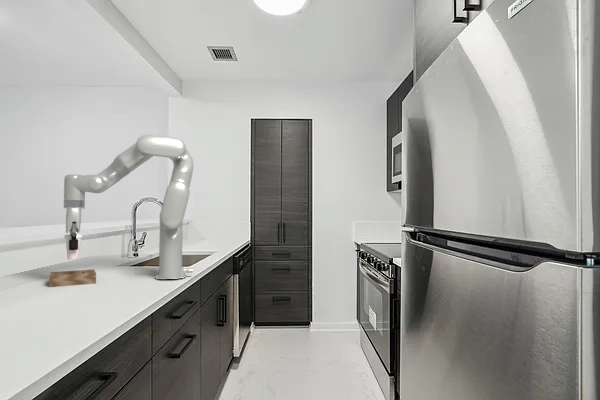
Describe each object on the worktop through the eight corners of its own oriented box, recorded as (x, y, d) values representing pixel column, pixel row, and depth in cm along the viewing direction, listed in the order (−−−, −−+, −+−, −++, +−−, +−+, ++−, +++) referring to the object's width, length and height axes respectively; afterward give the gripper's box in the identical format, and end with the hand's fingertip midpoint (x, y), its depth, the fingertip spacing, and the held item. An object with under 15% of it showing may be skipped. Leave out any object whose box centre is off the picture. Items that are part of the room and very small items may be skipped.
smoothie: (61, 258, 165) (61, 224, 165) (77, 257, 170) (78, 223, 170) (68, 260, 161) (68, 224, 161) (84, 258, 166) (85, 224, 167)
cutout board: (93, 278, 175) (94, 269, 175) (95, 283, 165) (96, 273, 165) (50, 281, 167) (50, 272, 167) (49, 287, 156) (49, 276, 157)
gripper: (63, 204, 172) (62, 247, 171) (63, 204, 157) (62, 251, 156) (83, 205, 175) (82, 246, 175) (85, 205, 161) (84, 250, 160)
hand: (73, 248), depth 166 cm, fingers closed on smoothie, 6 cm apart
